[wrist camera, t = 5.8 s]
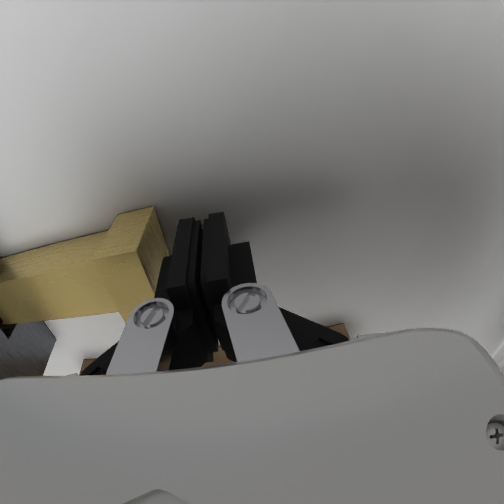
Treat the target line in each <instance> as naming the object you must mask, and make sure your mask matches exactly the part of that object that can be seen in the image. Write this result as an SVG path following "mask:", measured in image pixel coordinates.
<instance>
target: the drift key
mask: <svg viewBox="0 0 504 504" xmlns="http://www.w3.org/2000/svg"><path fill="white" fill-rule="evenodd" d="M166 256H170V254H169V251H168V248H167V245H166V242H165V239H164V236H163V233H162V230H161V227H160V224H159V221H158V218H157V215H156V211H155V208H154V206H153V207H148V208H144V209H140V210H135V211H131V212H127V213H123V214H118V215H117V217H116V219H115V220H114V222H113V224H112V225H111V227H110V229H109V231H104V232H100V233H96V234H92V235H88V236H84V237H79V238H75V239H71V240H67V241H63V242H60V243H56V244H52V245H48V246H44V247H40V248H37V249H33V250H29V251H26V252H22V253H19V254H15V255H11V256H8V257H4V258H1V259H0V325H4V324H15V323H26V322H36V321H45V320H55V319H64V318H73V317H81V316H89V315H98V314H106V313H113V312H120V314H121V316H122V318H123V320H124V321H125V323H127V321H128V319H129V316H130V314H131V313H132V311H133V310H134V309H135V308H136V307H137V306H138V305H139V304H141V303H142V302H144V301H146V300H149V299H153V298H154V296H155V291H156V286H157V282H158V277H159V273H160V268H161V264H162V260H163V257H166Z"/></svg>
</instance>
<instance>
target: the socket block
mask: <svg viewBox="0 0 504 504" xmlns="http://www.w3.org/2000/svg"><path fill="white" fill-rule="evenodd" d="M55 342H56V339H55V337H54V336H53V334H52V333H51V332H50V330H49V329H48V327H47V326H46V325H45V323H44V322H43V321H36V322H26V323H15V324H4V325H0V380H1V379H5V378H10V377H20V376H43V373H44V371H45V368H46V365H47V362H48V360H49V357H50V354H51V352H52V349H53V347H54V344H55Z"/></svg>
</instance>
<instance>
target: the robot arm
mask: <svg viewBox="0 0 504 504" xmlns="http://www.w3.org/2000/svg"><path fill="white" fill-rule="evenodd" d="M218 339H219V342H220V345H221V348H222V350H223V351H225V354H226V357H227V358H228V359H229V360H231V361H233V362H234V363H227V364H220V365H213V366H205V367H201V366H202V365H204V364H205V363H207V362H214V359H213V352H218ZM0 504H504V374H503V373H502V371H501V370H500V368H499V367H498V365H497V364H496V363H495V361H494V360H493V359H492V357H491V356H490V355H489V354H488V352H487V351H486V350H485V349H484V348H483V347H482V346H481V345H480V344H479V343H478V342H477V341H476V340H474V339H473V338H472V337H470V336H469V335H467V334H464V333H462V332H460V331H455V330H450V329H443V328H417V329H405V330H399V331H393V332H387V333H380V334H364V335H358V336H357V339H348V338H347V337H346V336H345V335H343V334H341V333H339V332H337V331H334V330H332V329H330V328H327V327H325V326H322V325H320V324H317V323H315V322H313V321H310V320H308V319H306V318H303V317H301V316H298V315H296V314H294V313H291V312H289V311H287V310H284V309H282V308H280V307H278V305H277V303H276V301H275V299H274V297H273V295H272V293H271V291H270V290H269V289H268V288H267V287H265V286H264V285H261V284H257V281H256V276H255V271H254V265H253V260H252V254H251V249H250V243H249V242H243V243H238V244H232V245H231V244H230V239H229V235H228V230H227V225H226V220H225V216H224V212H218V213H213V214H209V218H207V219H204V224H203V229H202V225H201V221H200V220H197V221H195V219H194V217H192V218H187V219H182V220H179V223H178V227H177V232H176V237H175V242H174V247H173V252H172V255H171V256H166V257H163V260H162V264H161V268H160V273H159V277H158V282H157V286H156V291H155V296H154V298H153V299H149V300H146V301H144V302H142V303H141V304H139V305H138V306H137V307H136V308H135V309H134V310H133V311H132V313H131V314H130V316H129V319H128V321H127V323H126V326H125V328H124V330H123V333H122V335H121V337H120V340H119V341H118V342H117V343H116V344H115V345H113V346H112V347H111V348H110V349H108V350H107V351H106V352H105V353H103V354H102V355H101V356H100V357H98V358H97V359H96V360H95V361H93V362H92V363H91V364H90V365H88V366H87V367H86V368H85V369H84V370H83V371H82V372H81V374H80V375H78V374H77V373H75V374H71V375H67V376H20V377H10V378H5V379H1V380H0Z"/></svg>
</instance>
